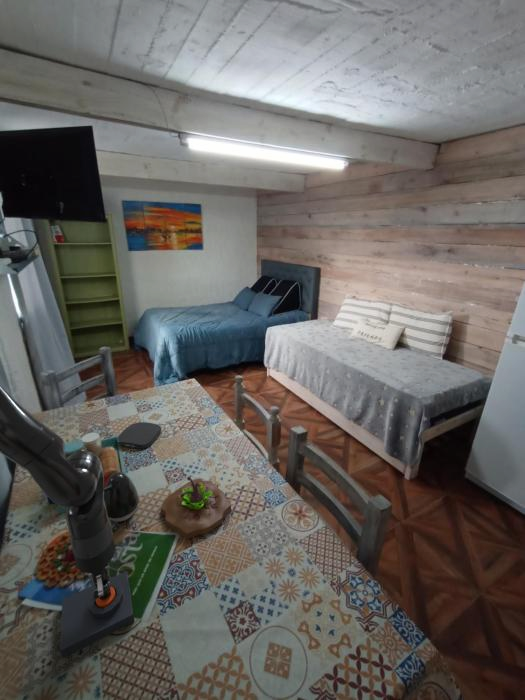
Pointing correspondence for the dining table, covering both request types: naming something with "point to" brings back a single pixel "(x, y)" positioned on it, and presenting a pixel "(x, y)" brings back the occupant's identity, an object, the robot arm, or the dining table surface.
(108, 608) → the push button box
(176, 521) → the plant
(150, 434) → the media streaming box
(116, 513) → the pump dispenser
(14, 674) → the dining table surface
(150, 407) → the dining table surface
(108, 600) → the lid button
